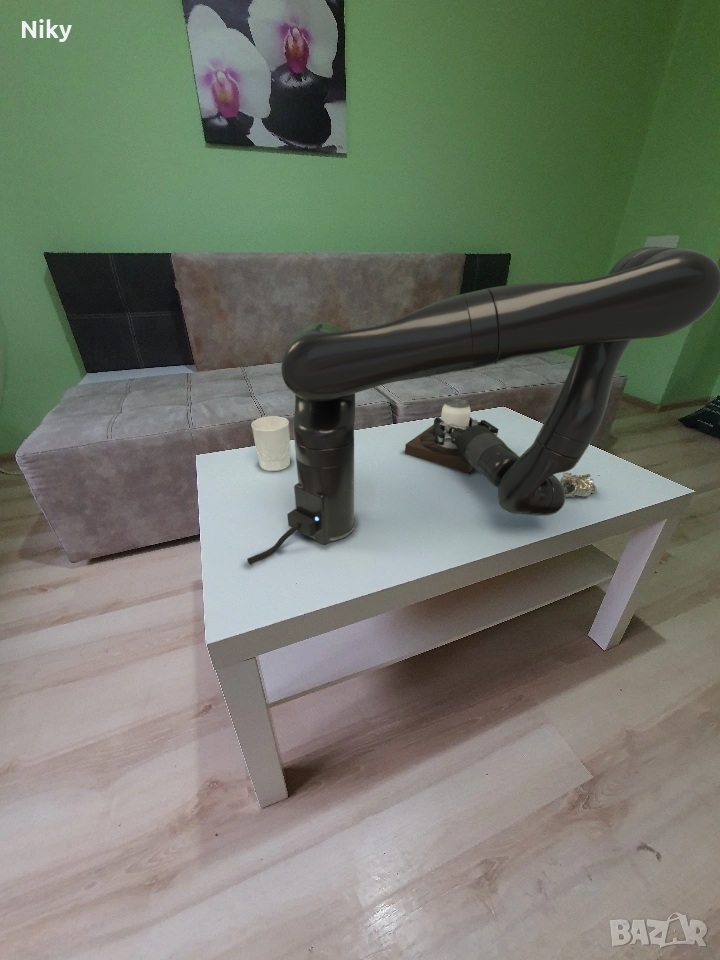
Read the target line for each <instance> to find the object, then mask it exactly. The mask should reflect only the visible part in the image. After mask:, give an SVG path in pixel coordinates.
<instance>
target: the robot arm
mask: <svg viewBox="0 0 720 960" xmlns="http://www.w3.org/2000/svg"><path fill="white" fill-rule="evenodd" d="M719 296H720V267H719V265H718V263H716V261H715V260H714V259H713V258H711V257H710V256H709V255H707V254H705V253H703V252H701V251H698V250H695V249H692V248H685V247H684V248H682V247H666V246H645V247H641V248H637V249H635V250H633V251H630V252H628V253H627V254H625V255H624V256H622V257H621V258H620V259H618V261H617V262H616V263H615V264H614V265H613V266H612V267H611V268H610V270H609V272H608V273H607V274H606V275H602V276H599V277H598V276H597V277H593V278H589V279H582V280H573V281H555V282H554V281H552V282H551V281H549V282H528V283H517V284H516V283H515V284H505V285H498V286H493V287H487V288H482V289H478V290H474V291H469V292H465V293H461V294H458V295H453V296H450V297H447V298H444V299H441V300H438V301H436V302H433V303H431V304H428V305H426V306H423V307H421V308H419V309H416V310H413V311H412V312H410V313H407V314H406V315H405V314H404V315H403V316H401V317H398V318H396V319H394V320H391V321H389V322H386V323H381V324H378V325H374V326H373V325H372V326H368V327H361V328H355V329H350V330H343V329H341V328H340V327H339V326H337V325H334V324H333V323H329V322H316V323H312V324H310V325H308V326H306V327H304V328H303V329H302V330H301V331H300V332H298V334H297V335H296V336H295V337H294V338H293V339H292V340H291V341H290V342H289V344H288V345H287V347H286V349H285V351H284V353H283V357H282V361H281V368H280V369H281V376H282V380H283V382H284V384H285V386H286V387H287V388H288V390H289V391H290V392H291V393H292V394H294V398H295V401H294V414H293V422H292V428H293V430H292V431H293V439H294V440H293V441H294V451H295V463H296V472H297V473H296V474H297V483H296V484H294V486H293V491H294V500H295V501H294V502H295V508H294V509H292V510H291V511H289V512H288V513H287V514H286V515H287V524H288V527H290V528H289V529H288V530H287V531H286V532H285V533H283V534H282V536H280V537H279V539H278V540H277V542H276V543H275V544H274V545H273V546H271V547H270V548H268V549H267V550H265V551H262V552H260V553H257V554H255V555H252V556H250V557H248V558H247V562H248V564H249V565H250V564H252V563H254V562H257V561H259V560H262V559H265V558H267V557H269V556H270V555H272V554H274V553H276V552H277V551H278V550H279V549H280V548H281V547H282V545H283V544H284V542H285V541H286V540H288V539H289V537H291V536H292V535H293V534H294V533H296V532H299V533H300V534H302V535H304V536H306V537H308V538H309V539H312V540H314V541H316V542H318V543H319V544H322V545H327V544H328V543H330V542H335V541H339V540H342V539H344V538H346V537H348V536H349V535H351V533H353V531H354V529H355V526H356V518H355V419H356V394H357V393H360V392H363V391H367V390H370V389H373V388H376V387H379V386H384V385H388V384H391V383H392V384H393V383H396V382H401V381H408V380H415V379H423V378H428V377H433V376H439V375H445V374H449V373H455V372H456V373H457V372H461V371H469V370H473V369H475V370H476V369H479V368H484V367H488V366H493V365H494V366H495V365H499V364H503V363H507V362H511V361H515V360H521V359H526V358H530V357H535V356H541V355H544V354H549V353H553V352H559V351H561V350H565V349H570V348H574V347H578V349H577V351H576V353H575V356H574V359H573V361H572V364H571V366H570V368H569V372H568V373H567V376H566V379H565V381H564V383H563V385H562V387H561V390H560V392H559V394H558V395H557V398H556V400H555V401H554V404H553V406H552V407H551V410H550V411H549V413H548V415H547V417H546V419H545V420H544V422H543V424H542V426H541V427H540V429H539V431H538V433H537V434H536V437H535V439H534V440H533V442H532V444H531V445H530V446H529V447H528V448H527V449H526V450H525V451H524V452H523V453H522V454H521V455H519V454H517V453H516V452H515V451H514V450H513V449H511V448H510V447H509V446H508V445H507V444H506V443H505V442H504V440H502V439H501V438H500V437H498V434H499V428H498V427H496V426H494V425H493V424H492V423H490V422H488V421H487V420H485V419H481V420H480V421H478V420H477V419H473V418H472V417H471V416H470V420H469V426H465V427H463V426H461V427H460V426H457V425H454V424H446V423H444V421H442V420H441V417H439V416H435V418H434V419H433V424H432V425H433V433H432V436H433V437H434V439H435V440H436V442H437V443H438V444H439V445H444V442H449V441H450V442H451V443H452V444H455V445H456V446H457V448H458V451H459V452H460V454H461V455H462V456H463V457H464V458H465V459H466V460H467V461H468V462H469V463H470V464H471V465H472V466H473V467H474V468H473V469H474V470H475V471H476V472H478V473H480V474H481V475H482V476H483V477H484V478H485V479H486V480H487V481H488V482H489V483H490V484H491V485H492V486H494V487H495V488H497V501H498V503H499V505H500V507H501V508H502V509H503V510H504V511H505V512H507V513H510V514H513V515H525V516H528V515H529V516H542V517H546V516H552V515H554V514H557V513H558V512H560V510H561V509H562V508H563V507H564V505H565V502H566V497H565V490H564V487H563V485H562V483H561V482H560V481H561V480H560V479H559V478H558V477H557V476H556V474H561V473H567V472H569V471H571V470H572V469H574V468H575V467H576V466H577V464H578V463H579V462H580V460H581V459H582V457H583V456H584V454H585V453H586V452H587V450H588V448H589V446H590V445H591V443H592V441H593V440H594V438H595V437H596V435H597V433H598V432H599V430H600V428H601V426H602V423H603V421H604V417H605V415H606V411H607V408H608V403H609V399H610V396H611V390H612V386H613V382H614V379H615V375H616V372H617V369H618V366H619V364H620V363H621V360H622V358H623V356H624V354H625V352H626V350H627V348H628V346H629V345H630V343H631V342H632V341H633V340H640V339H651V338H660V337H665V336H669V335H671V334H674V333H677V332H679V331H681V330H684V329H686V328H688V327H689V326H691V325H693V324H694V323H695V322H697V321H698V320H700V319H701V318H702V317H703V316H704V315H706V314H707V312H708V311H709V310H710V309H711V308H712V307H713V306H714V304H715V303H716V301H717V299H718V298H719ZM445 428H446V429H447V430H446V432H445V431H444V429H445ZM452 429H454V430H453V432H452Z"/></svg>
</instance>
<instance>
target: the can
mask: <svg viewBox="0 0 720 960" xmlns="http://www.w3.org/2000/svg"><path fill="white" fill-rule="evenodd" d="M470 406H471V403H470V402H469V401H468V400H465V399H461V398H449V399H446V400H445V401H444V404H443V406H442V407H441V415H440V419H441V420H442V421H444V423H446V424H454V425H457V426H460V427H461V426H463V427H465V426H469V420H470V417H471V413H472V412H471V411H472V410H471V407H470ZM446 430H447V429H446V428H445V429H444V431H445V432H446ZM453 430H454V429H452V432H453ZM438 445H439V444H438ZM440 446H442V447H445V448H451V449H458V448H457V446H456V445H455V444H452V443H451V442H450V441H449V442H444V445H440Z"/></svg>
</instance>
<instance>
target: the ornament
mask: <svg viewBox="0 0 720 960" xmlns="http://www.w3.org/2000/svg"><path fill="white" fill-rule="evenodd" d="M591 476H592V474H590V473H587V474H580V475H577V474H573V475H572V473H571V472H563V475H562V477H561V478H560V480H559V481H560V482H561V483H562V485H563V487H564V490H565V498H568V497H569V498H570V497H572V498H574V497H575V496H578V497H589V496H591V494H594V493H595V492H597V491H598V488H597V486H596V485H595V483H594V479H593V478H590V477H591ZM568 487H569V488H570V489H572V491H571V492H570V491H568Z"/></svg>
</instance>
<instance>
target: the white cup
mask: <svg viewBox="0 0 720 960" xmlns="http://www.w3.org/2000/svg"><path fill="white" fill-rule="evenodd" d="M250 426H251V432H252V436H253V439H254V440H253V442H254V446H255V449H256V455H257V457H258V463H259V466H260V468H261V469H262V470H265V471H267V472H279V471H282V470H284V469H287V468H288V467H289V466H290V465H291V436H290V435H291V433H290V421H289V419H287V418H286V417H283V416H278V415H270V416H262V417H259V418H256V419H254V420H253V421H252V422H251V424H250Z"/></svg>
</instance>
